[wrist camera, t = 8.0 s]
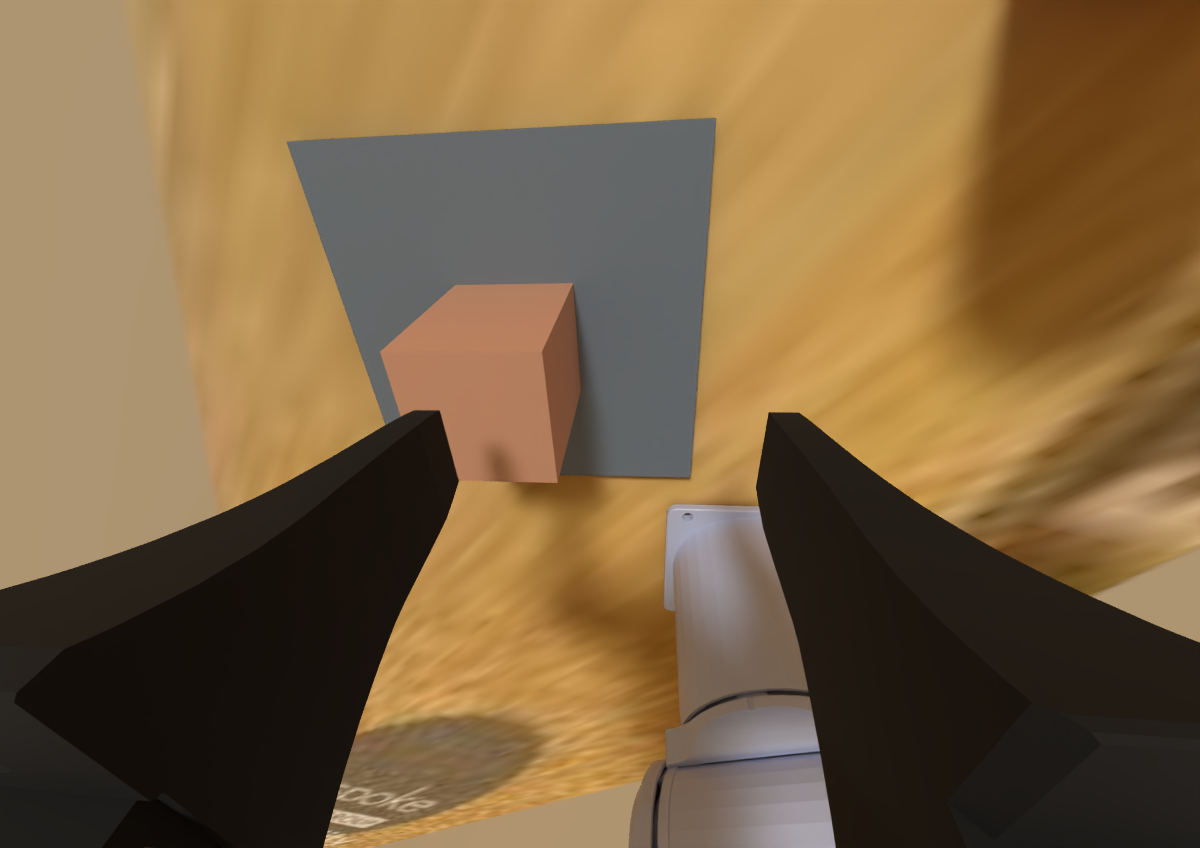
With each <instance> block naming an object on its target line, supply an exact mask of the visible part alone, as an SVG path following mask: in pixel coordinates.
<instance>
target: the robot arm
mask: <svg viewBox="0 0 1200 848" xmlns="http://www.w3.org/2000/svg"><path fill="white" fill-rule="evenodd" d="M458 482H459V479H458V476H457V472H456V468H455V465H454V461H453V457H452V453H451V450H450V446H449V442H448V439H447V435H446V431H445V428H444V424H443V420H442V416H441V413H440V410H413V411H411V412H409V413H407V414H405V415H403V416H401V417H399V418H397V419H395V420H394V421H392V422H390V423H388V424H387V425H385V426H383V427H382V428H380V429H378V430H376V431H375V432H373V433H371V434H370V435H368V436H366V437H365V438H363V439H361V440H360V441H358V442H356V443H355V444H353V445H351V446H350V447H348V448H346V449H345V450H343V451H341V452H340V453H338V454H336V455H334V456H333V457H331V458H329V459H327V460H326V461H324V462H322V463H320V464H318V465H317V466H315V467H313V468H311V469H309V470H308V471H306V472H304V473H302V474H300V475H299V476H297V477H295V478H293V479H291V480H289V481H288V482H286V483H284V484H282V485H280V486H278V487H276V488H274V489H272V490H270V491H268V492H266V493H264V494H262V495H260V496H258V497H256V498H254V499H252V500H249V501H247V502H245V503H243V504H241V505H239V506H236V507H234V508H232V509H230V510H228V511H226V512H223V513H221V514H219V515H216V516H214V517H211V518H209V519H206V520H204V521H202V522H199V523H197V524H194V525H192V526H189V527H187V528H184V529H182V530H179V531H177V532H174V533H172V534H169V535H167V536H164V537H162V538H159V539H157V540H154V541H151V542H149V543H146V544H143V545H140V546H138V547H135V548H132V549H129V550H126V551H123V552H121V553H118V554H115V555H112V556H109V557H106V558H103V559H100V560H97V561H94V562H91V563H88V564H85V565H82V566H79V567H76V568H73V569H70V570H67V571H63V572H60V573H57V574H54V575H50V576H47V577H44V578H40V579H37V580H33V581H30V582H26V583H22V584H19V585H15V586H12V587H8V588H5V589H1V590H0V848H323V846H324V842H325V838H326V835H327V831H328V827H329V824H330V820H331V817H332V813H333V809H334V806H335V802H336V799H337V795H338V791H339V788H340V784H341V781H342V777H343V774H344V770H345V767H346V764H347V761H348V758H349V754H350V751H351V748H352V745H353V742H354V738H355V735H356V732H357V729H358V726H359V722H360V719H361V716H362V713H363V710H364V707H365V704H366V702H367V699H368V696H369V693H370V690H371V687H372V684H373V681H374V679H375V676H376V673H377V670H378V667H379V664H380V662H381V659H382V657H383V654H384V651H385V649H386V646H387V643H388V641H389V638H390V635H391V633H392V630H393V628H394V625H395V622H396V620H397V618H398V616H399V614H400V611H401V609H402V607H403V605H404V603H405V601H406V599H407V597H408V595H409V593H410V591H411V589H412V587H413V585H414V583H415V581H416V579H417V577H418V575H419V573H420V571H421V569H422V567H423V565H424V563H425V561H426V559H427V557H428V555H429V553H430V551H431V549H432V547H433V545H434V543H435V541H436V539H437V537H438V535H439V533H440V531H441V529H442V527H443V525H444V523H445V521H446V519H447V516H448V513H449V510H450V507H451V504H452V501H453V498H454V495H455V492H456V488H457V485H458ZM756 491H757V497H758V503H759V506H724V505H685V504H676V505H672V506H670V507H669V508H668V509H667V521H666V547H665V573H664V598H663V604H664V608H665V609H667V610H669V611H675V624H676V646H677V667H678V689H679V711H680V726H679V727H675V728H670V729H667V730H666V731H665V738H666V760H658V761H656V762H654V763H653V764H652V765H650V767H649V768H648V770H647V772H646V773H645V776H644V778H643V781H642V784H641V786H640V788H639V790H638V792H637V795H636V798H635V801H634V805H633V810H632V815H631V822H630V833H629V848H1200V643H1199V642H1197V641H1194V640H1191V639H1189V638H1186V637H1184V636H1181V635H1179V634H1176V633H1174V632H1171V631H1169V630H1166V629H1164V628H1161V627H1159V626H1157V625H1154V624H1152V623H1150V622H1147V621H1145V620H1142V619H1140V618H1138V617H1136V616H1134V615H1131V614H1129V613H1127V612H1125V611H1122V610H1120V609H1118V608H1116V607H1113V606H1111V605H1109V604H1106V603H1104V602H1102V601H1100V600H1097V599H1095V598H1093V597H1091V596H1089V595H1086V594H1084V593H1082V592H1080V591H1078V590H1076V589H1074V588H1072V587H1070V586H1067V585H1065V584H1063V583H1061V582H1059V581H1057V580H1055V579H1053V578H1051V577H1049V576H1047V575H1045V574H1043V573H1041V572H1039V571H1037V570H1035V569H1033V568H1031V567H1029V566H1027V565H1025V564H1023V563H1021V562H1019V561H1017V560H1015V559H1013V558H1011V557H1010V556H1008V555H1006V554H1004V553H1002V552H1000V551H998V550H996V549H994V548H993V547H991V546H989V545H987V544H985V543H983V542H982V541H980V540H978V539H976V538H974V537H973V536H971V535H969V534H968V533H966V532H964V531H963V530H961V529H959V528H958V527H956V526H954V525H953V524H951V523H949V522H948V521H946V520H944V519H943V518H941V517H939V516H938V515H936V514H934V513H933V512H931V511H930V510H928V509H927V508H925V507H923V506H922V505H920V504H919V503H917V502H916V501H914V500H913V499H911V498H910V497H909V496H907V495H906V494H904V493H903V492H901V491H900V490H899V489H897V488H896V487H894V486H893V485H891V484H890V483H888V482H887V481H886V480H884V479H883V478H882V477H880V476H879V475H878V474H876V473H875V472H873V471H872V470H871V469H870V468H868V467H867V466H866V465H864V464H863V463H862V462H860V461H859V460H858V459H857V458H855V457H854V456H853V455H851V454H850V453H849V452H848V451H846V450H845V449H844V448H843V447H841V446H840V445H839V444H838V443H837V442H835V441H834V440H833V439H832V438H830V437H829V436H828V435H827V434H826V433H824V432H823V431H822V430H821V429H819V428H818V427H817V426H816V425H814V424H813V423H812V422H811V421H809V420H808V419H807V418H806V417H804V416H803V415H801V414H800V413H775V412H769V414H768V420H767V426H766V431H765V437H764V443H763V449H762V455H761V461H760V467H759V472H758V478H757V484H756ZM685 513H690V515H684V514H685Z"/></svg>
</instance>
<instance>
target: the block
mask: <svg viewBox="0 0 1200 848" xmlns="http://www.w3.org/2000/svg"><path fill="white" fill-rule="evenodd" d="M380 353H381V356H382V360H383V363H384V366H385V369H386V372H387V375H388V378H389V381H390V385H391V388H392V391H393V394H394V397H395V400H396V403H397V406H398V410H399V413H400V416H403V415H405V414H407V413H409V412H411V411H413V410H440V413H441V416H442V420H443V424H444V428H445V431H446V435H447V439H448V442H449V446H450V450H451V453H452V457H453V461H454V465H455V468H456V472H457V476H458V479H459V480H466V481H504V482H542V483H558V479H559V475H560V471H561V467H562V463H563V459H564V455H565V451H566V447H567V443H568V440H569V436H570V432H571V428H572V424H573V420H574V416H575V412H576V408H577V404H578V400H579V396H580V392H581V384H580V370H579V356H578V343H577V329H576V315H575V302H574V288H573V283H556V284H492V285H455V286H454V287H453V288H451V289H450V290H449V291H448V292H447V293H446V294H445V295H444V296H442V297H441V298H440V299H439V300H438V301H437V302H436V303H435V304H433V305H432V306H431V307H430V308H429V309H428V310H427V311H425V312H424V313H423V314H422V315H421V316H420V317H419V318H418V319H416V320H415V321H414V322H413V323H412V324H411V325H410V326H409V327H407V328H406V329H405V330H404V331H403V332H402V333H401V334H400V335H398V336H397V337H396V338H395V339H394V340H393V341H392V342H390V343H389V344H388V345H387V346H386V347H385V348H384V349H383V350H381V351H380Z"/></svg>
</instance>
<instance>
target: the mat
mask: <svg viewBox="0 0 1200 848" xmlns="http://www.w3.org/2000/svg"><path fill="white" fill-rule="evenodd" d="M715 127H716V118H705V119H687V120H669V121H651V122H633V123H614V124H596V125H578V126H560V127H542V128H524V129H505V130H487V131H469V132H451V133H433V134H415V135H396V136H378V137H360V138H342V139H324V140H305V141H291V142H287V144H288V147H289V150H290V153H291V156H292V159H293V161H294V164H295V167H296V170H297V173H298V176H299V179H300V181H301V184H302V187H303V190H304V193H305V196H306V199H307V201H308V204H309V207H310V210H311V213H312V216H313V219H314V221H315V224H316V227H317V230H318V233H319V236H320V239H321V241H322V244H323V247H324V250H325V253H326V256H327V259H328V261H329V264H330V267H331V270H332V273H333V276H334V279H335V281H336V284H337V287H338V290H339V293H340V296H341V299H342V301H343V304H344V307H345V310H346V313H347V316H348V319H349V321H350V324H351V327H352V330H353V333H354V336H355V339H356V341H357V344H358V347H359V350H360V353H361V356H362V359H363V361H364V364H365V367H366V370H367V373H368V376H369V379H370V381H371V384H372V387H373V390H374V393H375V396H376V399H377V401H378V404H379V407H380V410H381V413H382V416H383V419H384V421H385V424H386V425H387V424H388V423H390V422H392V421H394V420H395V419H397V418H399V417H401V416H400V413H399V410H398V406H397V403H396V400H395V397H394V394H393V391H392V388H391V385H390V381H389V378H388V375H387V372H386V369H385V366H384V363H383V360H382V356H381V353H380V351H381V350H383V349H384V348H385V347H386V346H387V345H388V344H389V343H390V342H392V341H393V340H394V339H395V338H396V337H397V336H398V335H400V334H401V333H402V332H403V331H404V330H405V329H406V328H407V327H409V326H410V325H411V324H412V323H413V322H414V321H415V320H416V319H418V318H419V317H420V316H421V315H422V314H423V313H424V312H425V311H427V310H428V309H429V308H430V307H431V306H432V305H433V304H435V303H436V302H437V301H438V300H439V299H440V298H441V297H442V296H444V295H445V294H446V293H447V292H448V291H449V290H450V289H451V288H453V287H454V286H455V285H492V284H556V283H573V288H574V302H575V315H576V329H577V343H578V356H579V370H580V384H581V392H580V396H579V400H578V404H577V408H576V412H575V416H574V420H573V424H572V428H571V432H570V436H569V440H568V443H567V447H566V451H565V455H564V459H563V463H562V467H561V471H560V475H590V476H640V477H689V478H690V477H691V463H692V449H693V435H694V421H695V407H696V393H697V379H698V365H699V351H700V337H701V323H702V309H703V295H704V281H705V267H706V253H707V239H708V225H709V211H710V197H711V183H712V169H713V155H714V141H715Z"/></svg>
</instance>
